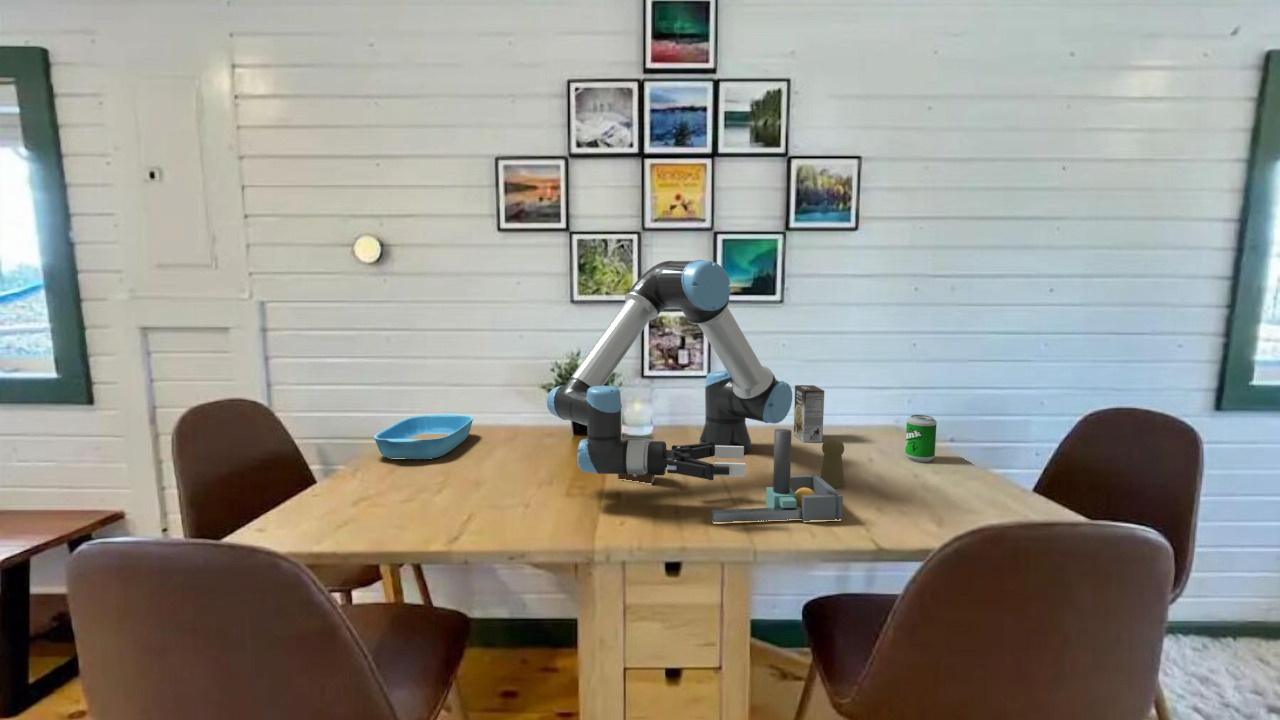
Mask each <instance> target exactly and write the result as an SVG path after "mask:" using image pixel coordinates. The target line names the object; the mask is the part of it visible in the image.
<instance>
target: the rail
mask: <svg viewBox="0 0 1280 720" xmlns="http://www.w3.org/2000/svg"><path fill="white" fill-rule="evenodd" d="M787 519H788V520H789V519H802V509H801V508H800V507H799V506H798V507H796V508H782V507H775V508H768V507H755V508H735V509H733V508H732V509H712V510H710V521H711V520H712V521H713V522H733V521H758V520H759V521H761V520H762V521H763V520H764V521H766V520H767V521H768V520H787Z"/></svg>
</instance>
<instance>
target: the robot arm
mask: <svg viewBox="0 0 1280 720" xmlns="http://www.w3.org/2000/svg"><path fill="white" fill-rule="evenodd" d="M730 285H731V282H730V277H729V275H728V273H727V272H726V270H725V269H724V268H723V267H722V265H720V264H718V263H717V262H714V261H712V260H711V261H709V260H703V259H698V260H667V261H666V260H665V261H662V262H660V263H657V264H655V265H653V266H652V267H651V268H649V269H648V270H647V271H646V272H644V273H643V274H642V275H641V276H640V277H639V278H638V279H637V281H635V283H634V284H633V285H632V286H631V287H630V288H629V291H628V292H627V293H626V294H625V296H624V300H625V301H624V302H625V303H624V304H623V305H622V307H621V308H620V309H619V311H618V312H617V314H616V315H615V316H614V317H613V319H612V320H611V322H610V323H609V325H608V326H607V327H606V328H605V330H604V332H603V333H602V334H601V336H600V337H599V338H598V339H597V340H596V342H595V344H594V345H593V346H592V348H591V349H590V350H589V352H588V353H587V355H586V356H585V357H584V359H583V360H582V362H580V365H579V366H578V367H577V368H576V370H575V371H574V373H572V375H571V377H570V378H569V379H568V381H567V382H566V383H565V384H564V385H558V386H556V387H554V388H552V389H551V390H550V391H549V393H548V394H547V397H546V406H547V410H548V412H549V413H550V414H551V415H553V416H555V417H557V418H559V419H561V420H564V421H571V422H574V423H578V424H581V425H584V426H586V427H587V429H586V430H587V431H586V432H587V436H586V437H587V438H584V439H581V440H580V441H579V443H578V447H577V465H578V467H577V468H578V469H579V470H580V471H581V472H583V473H589V474H590V473H591V474H597V475H605V474H607V475H617V474H633V476H634V477H636V476H637V474H638V475H645V474H646V472H648V474H650V475H655V476H665V474H666V472H667V474H676V475H677V474H678V475H681V476H682V475H683V476H687V477H693V478H697V479H698V478H699V479H703V480H708V481H714V478H715V477H733V478H734V477H739V478H746V472H747V471H746V469H747V467H746V465H747V464H746V463H745V462H717V461H716V462H714V463H711V462H706V461H703V460H701V459H706V458H711V457H714V458H715V459H739V460H740V459H743V460H744V458H745V455H744V454H745V453H748V452H750V451H751V450H752V439H751V438H750V437H751V436H750V433H749V430H748V428H747V423H746V419H749V420H753V421H757V422H763V423H765V424H779V423H781V422H782V421H783V420H785V418H786V417H787V416H788V414H789V412H790V410H791V407H792V402H793V391H792V387H791V385H790V384H789V383H788V382H785V381H783V380H780V381H779V380H777V377H775V375H774V373H773V371H772V370H771V369H770V368H769V367H768V366H763V365H762V364H761V362H760V361H759V359H758V357H757V355H756V353H755V351H754V349H753V348H752V346H751V345H750V343H749V342H748V340H747V337H746V336H745V334H744V332H743V331H742V329H741V328H740V326H739V324H738V322H737V321H736V319H735V317H734V315H733V313H732V312H731V311H730V309H729V307H728V306H729V305H730V296H731V291H732V289H731V288H730ZM668 308H670V309H671V308H672V309H680V310H681V311H682V313H683V315H684V316H685V317H686V319H687V322H689V324H692V325H697V326H698V327H699V328H700V330H701V332H702V333H703V334H704V336H705V338H706V339H707V341H708V343H709V345H710V346H711V348H712V349H713V352H714V353H716V355H717V357H718V359H719V361H720V363H721V364H722V365H723V367H724V369H725V370H718V371H711V372H709V373H708V374H707V375H706V377H705V386H704V388H705V389H704V391H705V393H704V394H705V395H704V399H705V402H704V403H705V406H704V407H705V410H704V411H705V417H704V419H705V420H704V421H705V422H704V425H703V428H702V431H701V433H700V437H699V440H698V441H699V442H698V443H691V444H682V445H680V444H679V445H677V444H676V445H675V444H674V445H671V449H667V443H666V441H663V440H661V441H658V440H654V441H651V442H649V443H647V442H646V441H634V440H621V439H622V408H623V406H622V399H621V396H622V395H621V391H620V389H619V388H618V387H616V386H613V385H605V384H606V383H607V381H608V380H609V378H610V377H611V376H612V374H614V373H613V372H614V371H615V370H616V368H617V367H618V365H619V364H620V363H621V362H622V360H623V359H624V357H625V355H626V354H627V353H628V352H629V350H630V348H631V347H632V346H633V344H634V343H635V341H637V339H638V337H639V336H640V335H641V333H642V332H643V330H644V328H646V326H647V324H648V323H649V322H650V321H651V320H656V319H657V318H658V317H659V315H660V313H661V312H663V311H664V310H665V309H668Z"/></svg>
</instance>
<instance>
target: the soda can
mask: <svg viewBox="0 0 1280 720" xmlns="http://www.w3.org/2000/svg"><path fill="white" fill-rule="evenodd" d="M937 422H938V421H936V419H935V418H934V417H933V416H931V415H927V414H912V415H910V416H909V417H908V418H907V419H906V430H905V447H904V448H905V451H904V454H905V457H907V458H908V460H909V461H911V462H914V463H915V462H916V463H931V462H932V460H934V459H935V458H936V457H935V454H936V442H937V441H936V440H937V438H936V437H937Z"/></svg>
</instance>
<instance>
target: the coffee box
mask: <svg viewBox="0 0 1280 720" xmlns="http://www.w3.org/2000/svg"><path fill="white" fill-rule="evenodd" d="M793 409H794V414H793V415H794V416H793V417H794V418H793V436H794V435H795V436H794V437H796V438H797V437H798V438H799V440H800V441H801V442H802V441H803V442H802V443H822V442H823V438H824V437H823V434H824V433H823V431H824V430H823V429H824V410H825V390H824V389H821V388H820V387H818V386H816V385H810V384H809V385H805V384H800V385H799V384H797V385H796V384H795V385H794V408H793ZM798 438H797V439H798Z"/></svg>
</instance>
